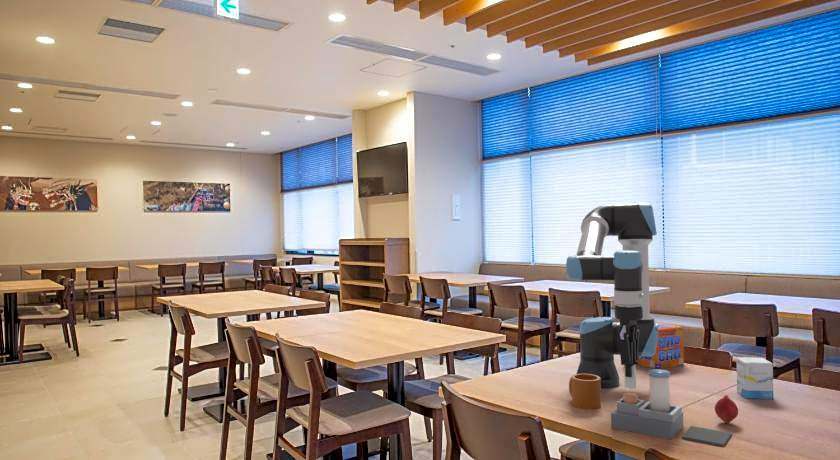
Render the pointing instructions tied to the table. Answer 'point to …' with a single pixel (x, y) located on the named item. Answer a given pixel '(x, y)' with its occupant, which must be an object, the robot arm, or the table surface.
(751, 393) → the ink box
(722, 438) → the pad
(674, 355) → the game box
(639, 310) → the robot arm
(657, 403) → the cylinder
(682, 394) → the table surface
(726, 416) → the onion
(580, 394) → the mug
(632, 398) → the salmon orange cube
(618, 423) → the box
